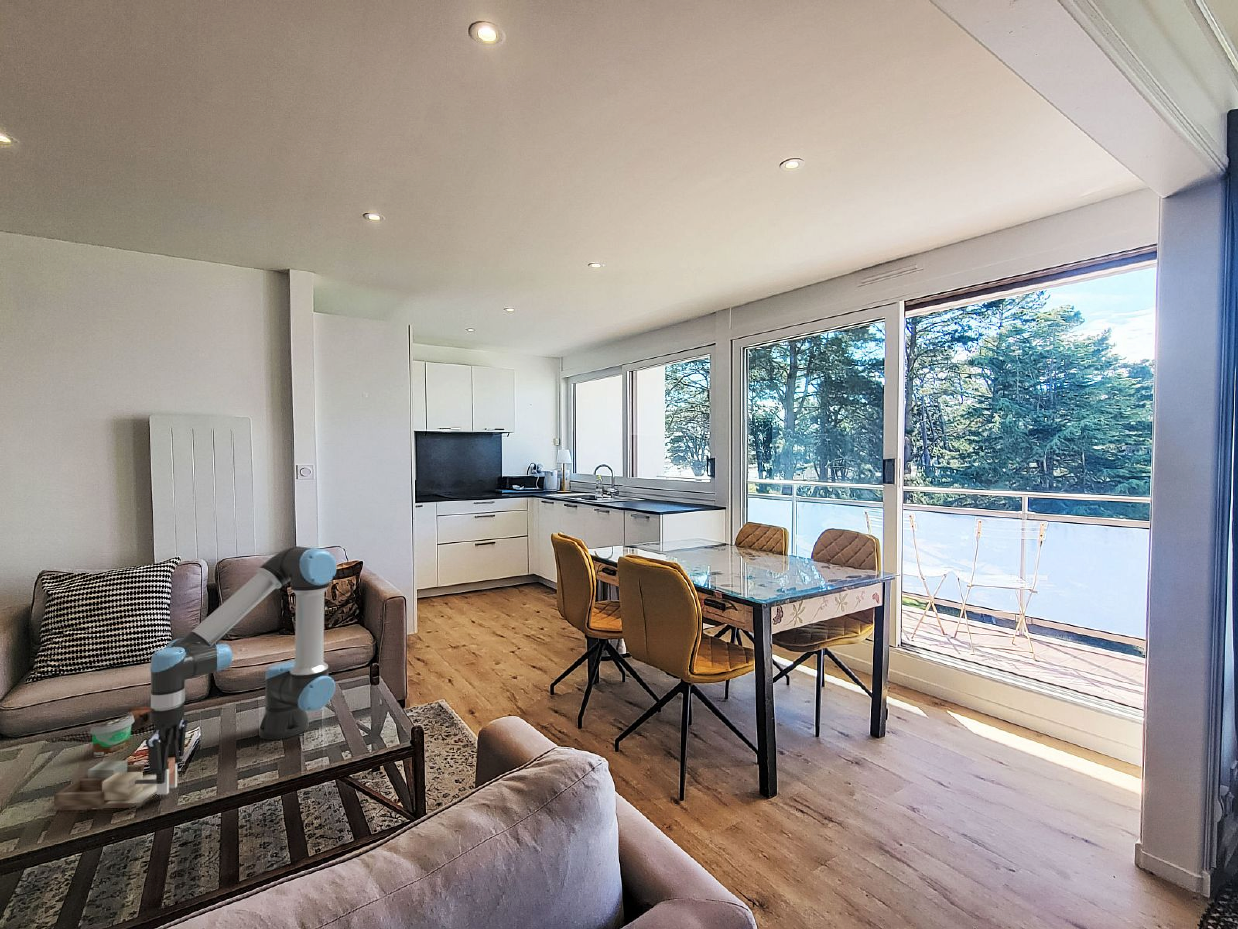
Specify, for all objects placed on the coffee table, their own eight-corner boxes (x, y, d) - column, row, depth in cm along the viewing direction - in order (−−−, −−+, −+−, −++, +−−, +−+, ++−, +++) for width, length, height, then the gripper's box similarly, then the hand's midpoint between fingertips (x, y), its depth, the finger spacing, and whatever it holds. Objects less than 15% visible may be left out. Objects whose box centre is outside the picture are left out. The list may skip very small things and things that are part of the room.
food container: (104, 761, 183) (105, 729, 183) (89, 759, 184) (89, 727, 184) (144, 743, 195) (144, 713, 195) (129, 741, 196) (129, 711, 196)
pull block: (177, 788, 165) (178, 755, 165) (165, 798, 160) (165, 764, 160) (116, 790, 164) (116, 756, 164) (101, 800, 159) (102, 765, 159)
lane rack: (179, 778, 174) (179, 757, 174) (139, 808, 158) (139, 785, 158) (101, 779, 173) (101, 758, 173) (53, 810, 157) (54, 787, 157)
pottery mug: (112, 735, 202) (119, 709, 206) (139, 736, 210) (145, 711, 214) (139, 729, 200) (146, 703, 204) (165, 731, 208) (171, 706, 212)
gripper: (173, 694, 170) (172, 775, 170) (131, 718, 155) (131, 807, 155) (200, 694, 171) (199, 775, 171) (161, 717, 155) (160, 806, 155)
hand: (167, 790), depth 163 cm, fingers closed on pull block, 2 cm apart
